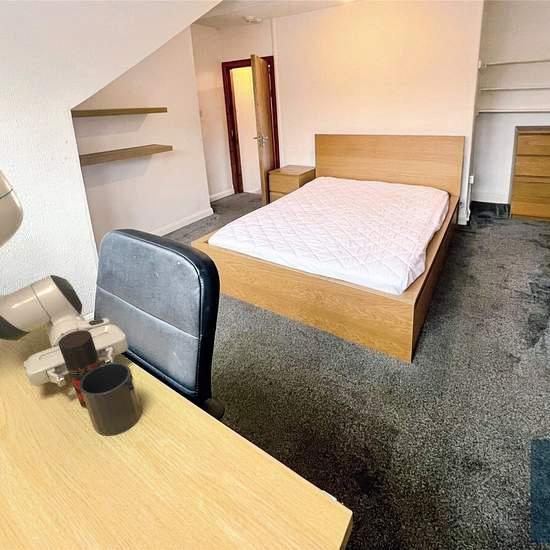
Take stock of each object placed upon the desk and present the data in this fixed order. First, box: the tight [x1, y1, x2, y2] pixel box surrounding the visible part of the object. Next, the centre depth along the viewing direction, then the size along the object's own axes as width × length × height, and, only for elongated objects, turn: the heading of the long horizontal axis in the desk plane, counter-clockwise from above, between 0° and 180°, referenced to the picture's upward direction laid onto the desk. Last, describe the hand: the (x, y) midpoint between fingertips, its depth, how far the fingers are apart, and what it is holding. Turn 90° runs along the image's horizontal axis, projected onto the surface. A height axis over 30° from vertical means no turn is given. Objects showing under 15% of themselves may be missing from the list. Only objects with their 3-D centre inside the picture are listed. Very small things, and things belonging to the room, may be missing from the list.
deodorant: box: [58, 330, 102, 409], centre depth 83 cm, size 6×6×15 cm
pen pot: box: [79, 362, 142, 437], centre depth 78 cm, size 9×9×10 cm
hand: (86, 373), depth 84 cm, fingers open, 8 cm apart
